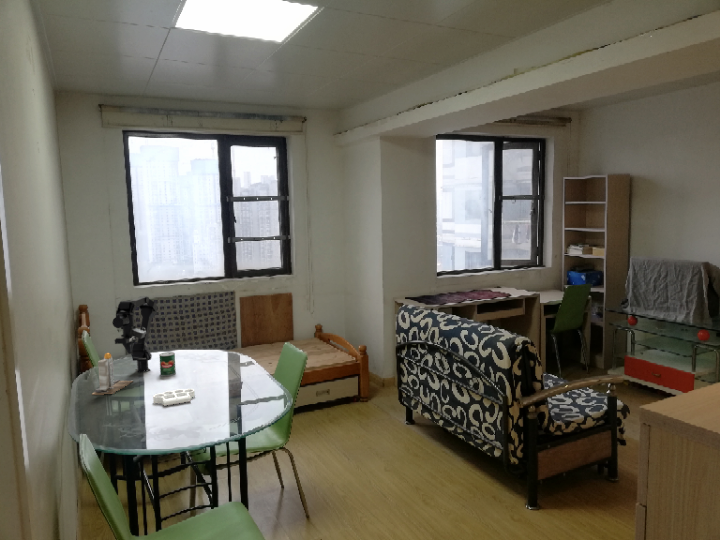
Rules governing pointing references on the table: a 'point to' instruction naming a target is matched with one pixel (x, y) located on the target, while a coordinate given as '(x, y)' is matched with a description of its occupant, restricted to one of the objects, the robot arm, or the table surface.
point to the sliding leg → (110, 368)
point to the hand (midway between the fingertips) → (129, 353)
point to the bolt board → (116, 387)
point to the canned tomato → (167, 363)
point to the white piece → (174, 397)
